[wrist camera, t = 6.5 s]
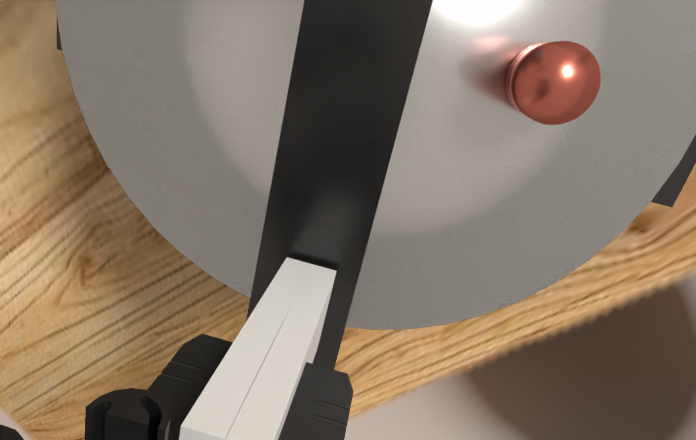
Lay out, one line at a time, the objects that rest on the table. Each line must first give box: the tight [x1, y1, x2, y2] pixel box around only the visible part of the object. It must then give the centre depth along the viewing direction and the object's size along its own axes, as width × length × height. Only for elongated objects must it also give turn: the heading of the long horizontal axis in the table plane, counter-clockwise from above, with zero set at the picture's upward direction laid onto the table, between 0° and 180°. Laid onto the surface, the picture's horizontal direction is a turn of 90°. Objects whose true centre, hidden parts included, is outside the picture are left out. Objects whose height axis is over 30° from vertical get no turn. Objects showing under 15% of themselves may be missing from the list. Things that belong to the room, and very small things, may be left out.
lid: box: [55, 0, 696, 370], centre depth 14 cm, size 19×26×3 cm
